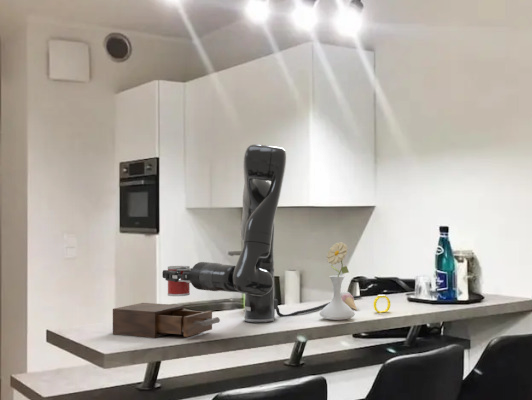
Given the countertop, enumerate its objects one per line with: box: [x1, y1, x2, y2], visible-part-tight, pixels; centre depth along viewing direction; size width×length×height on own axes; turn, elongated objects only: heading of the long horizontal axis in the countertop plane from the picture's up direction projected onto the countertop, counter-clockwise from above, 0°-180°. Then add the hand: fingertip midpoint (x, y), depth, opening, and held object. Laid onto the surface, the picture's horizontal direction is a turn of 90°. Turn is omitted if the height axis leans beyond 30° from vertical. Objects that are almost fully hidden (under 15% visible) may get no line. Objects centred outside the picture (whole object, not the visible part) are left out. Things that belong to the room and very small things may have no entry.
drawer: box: [156, 309, 221, 338], centre depth 199 cm, size 18×12×5 cm
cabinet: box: [112, 302, 185, 339], centre depth 204 cm, size 15×14×7 cm
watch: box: [373, 294, 391, 314], centre depth 241 cm, size 6×3×6 cm, turn 115°
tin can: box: [167, 265, 191, 297], centre depth 199 cm, size 6×6×8 cm
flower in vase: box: [319, 241, 356, 321], centre depth 226 cm, size 13×11×25 cm
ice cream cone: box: [341, 290, 358, 311], centre depth 253 cm, size 5×5×15 cm
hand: (173, 273), depth 201 cm, fingers closed on tin can, 6 cm apart
